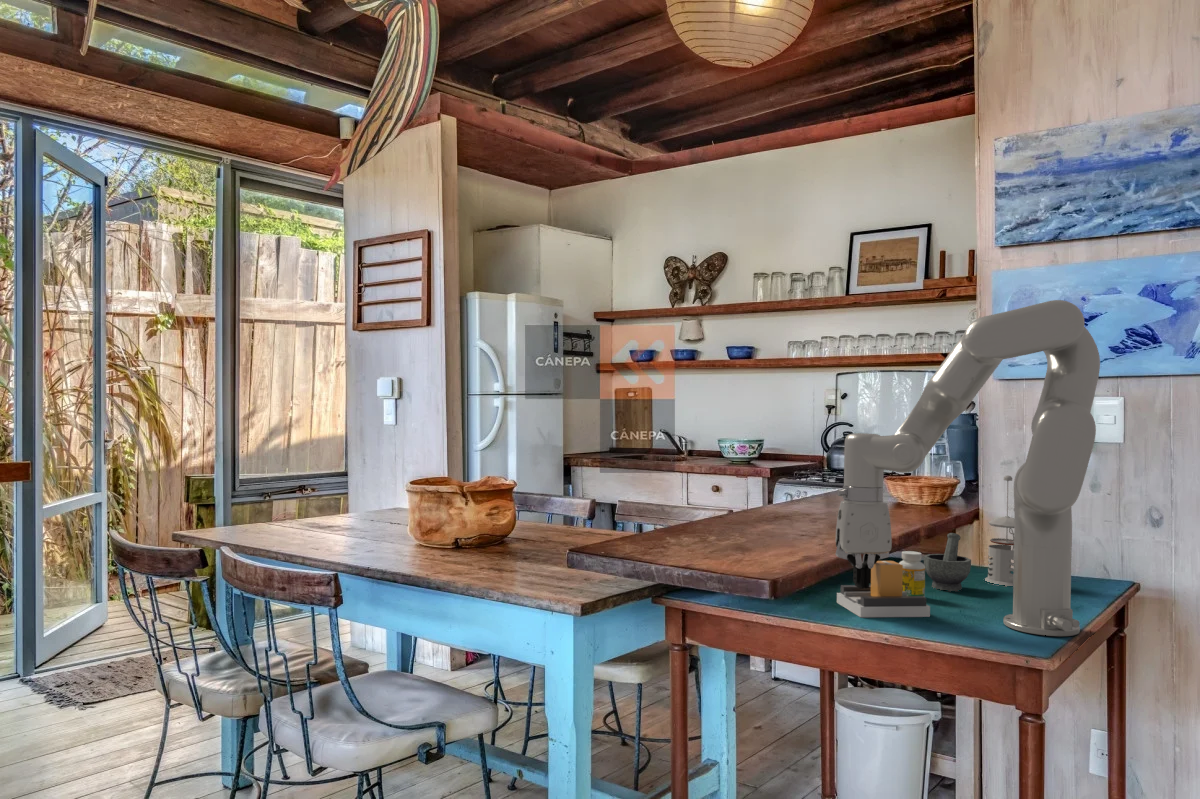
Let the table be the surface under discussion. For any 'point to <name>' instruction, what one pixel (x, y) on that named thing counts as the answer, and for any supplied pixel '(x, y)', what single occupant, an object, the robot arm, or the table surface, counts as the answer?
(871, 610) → the breaker panel
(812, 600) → the table surface
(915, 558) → the supplement bottle
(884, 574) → the orange rectangular block
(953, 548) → the mortar and pestle
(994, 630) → the table surface
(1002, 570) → the french press
